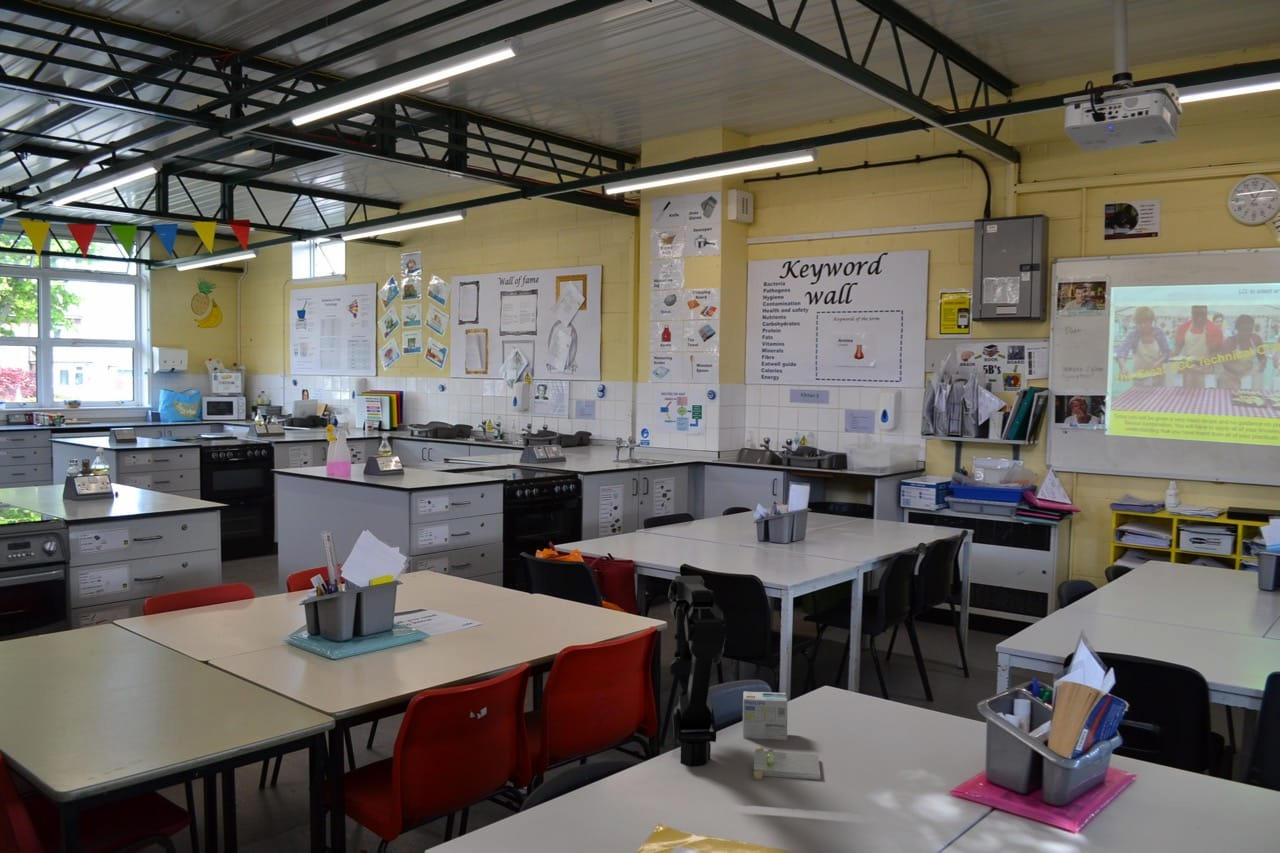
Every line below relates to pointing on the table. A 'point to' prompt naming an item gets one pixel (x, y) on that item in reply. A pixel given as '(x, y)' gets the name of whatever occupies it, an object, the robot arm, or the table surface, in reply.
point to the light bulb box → (765, 715)
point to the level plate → (787, 764)
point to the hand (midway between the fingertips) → (687, 695)
